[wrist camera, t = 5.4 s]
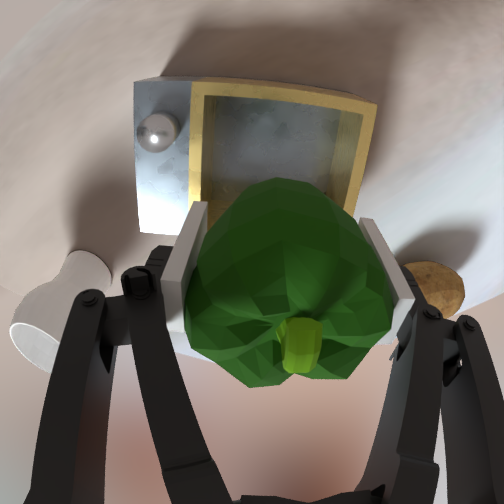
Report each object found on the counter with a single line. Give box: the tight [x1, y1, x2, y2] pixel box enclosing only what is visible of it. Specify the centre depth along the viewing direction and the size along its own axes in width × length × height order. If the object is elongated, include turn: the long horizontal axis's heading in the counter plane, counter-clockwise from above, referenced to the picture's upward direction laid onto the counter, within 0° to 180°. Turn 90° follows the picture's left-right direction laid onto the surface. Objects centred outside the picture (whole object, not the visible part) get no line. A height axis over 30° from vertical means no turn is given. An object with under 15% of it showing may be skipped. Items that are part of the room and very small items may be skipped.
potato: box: [404, 261, 465, 319], centre depth 37 cm, size 10×14×8 cm
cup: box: [10, 250, 112, 373], centre depth 35 cm, size 11×11×15 cm
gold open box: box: [134, 76, 378, 235], centre depth 28 cm, size 19×14×9 cm
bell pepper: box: [185, 177, 394, 388], centre depth 13 cm, size 8×8×10 cm
